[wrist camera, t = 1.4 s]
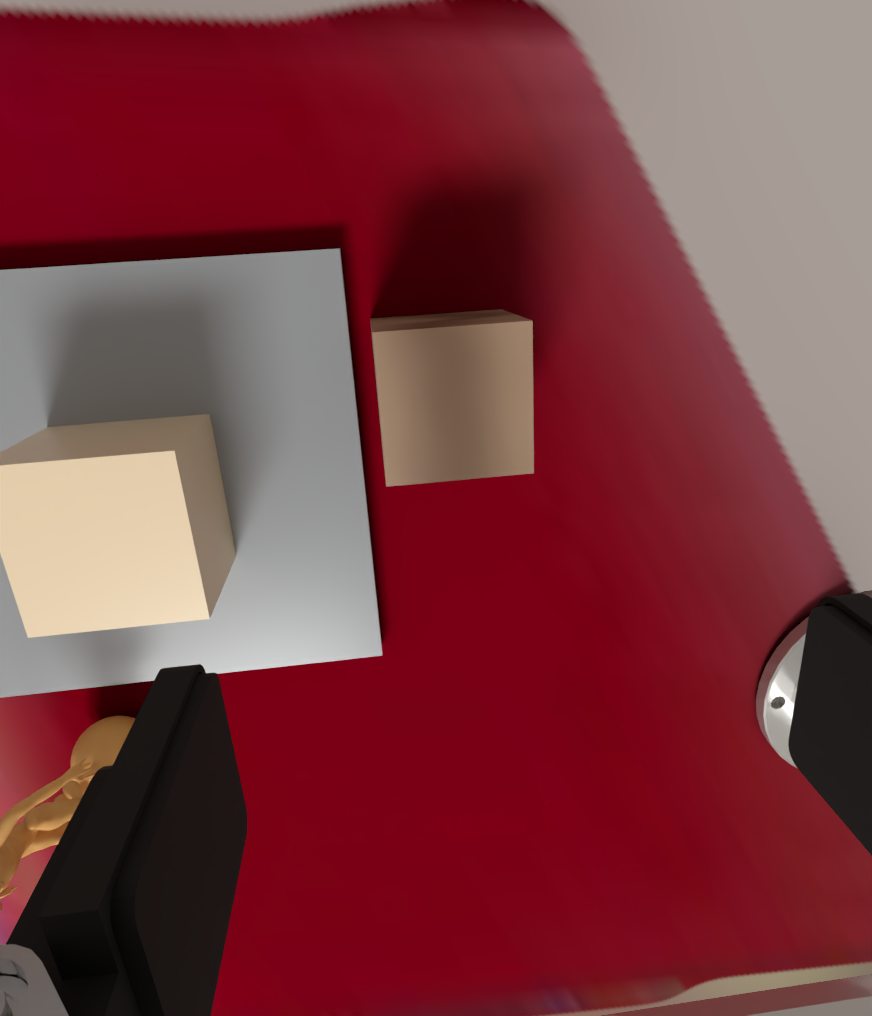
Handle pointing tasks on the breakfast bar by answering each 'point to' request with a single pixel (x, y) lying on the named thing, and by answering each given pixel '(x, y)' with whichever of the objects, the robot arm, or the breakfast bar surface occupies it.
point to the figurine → (47, 822)
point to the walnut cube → (454, 395)
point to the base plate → (262, 438)
